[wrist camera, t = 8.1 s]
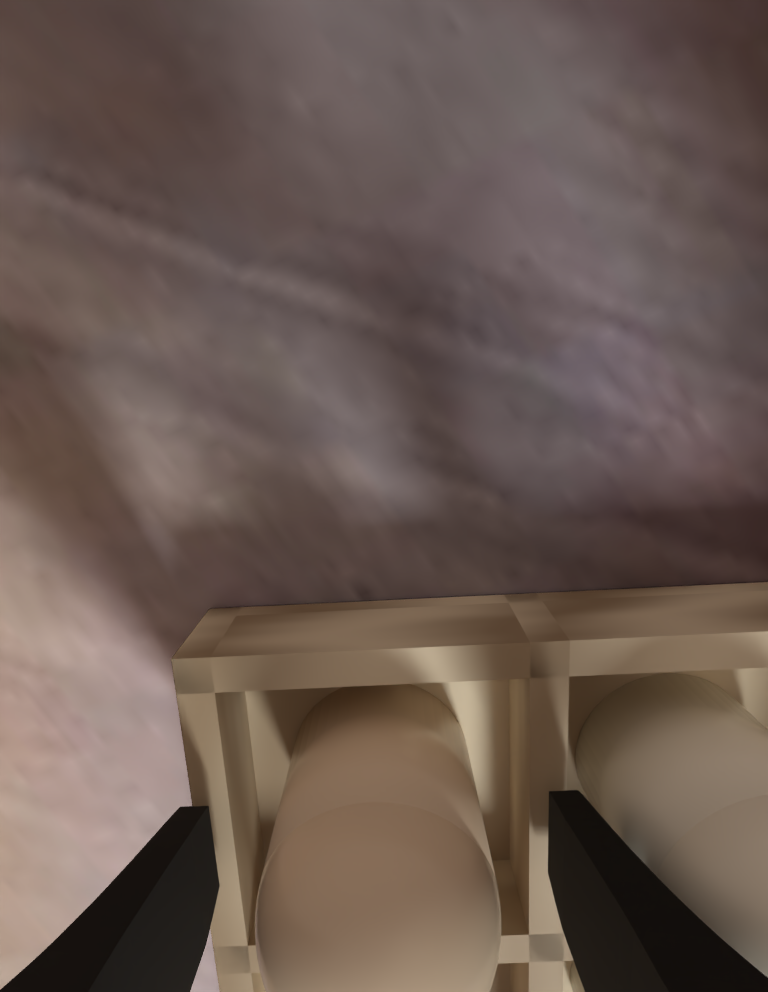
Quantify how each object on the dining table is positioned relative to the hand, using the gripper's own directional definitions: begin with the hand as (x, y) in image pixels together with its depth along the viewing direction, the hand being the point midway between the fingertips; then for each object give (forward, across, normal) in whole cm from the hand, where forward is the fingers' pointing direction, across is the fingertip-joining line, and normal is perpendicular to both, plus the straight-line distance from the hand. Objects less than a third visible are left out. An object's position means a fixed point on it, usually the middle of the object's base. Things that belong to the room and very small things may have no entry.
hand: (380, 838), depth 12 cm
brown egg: (+2, 0, 0) cm, 2 cm away
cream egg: (+2, -7, 0) cm, 8 cm away
